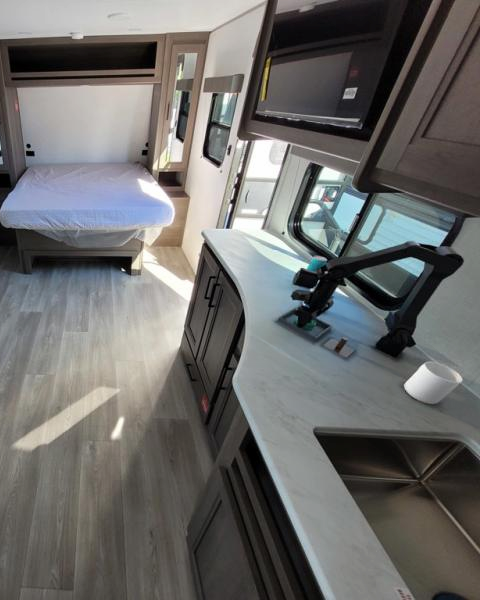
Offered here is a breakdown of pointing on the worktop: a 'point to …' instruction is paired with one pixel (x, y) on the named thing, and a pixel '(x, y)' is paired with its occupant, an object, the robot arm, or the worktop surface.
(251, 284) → the worktop surface
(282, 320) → the tray
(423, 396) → the mug
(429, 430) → the worktop surface
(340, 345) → the stand
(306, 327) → the ring
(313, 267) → the beverage can
